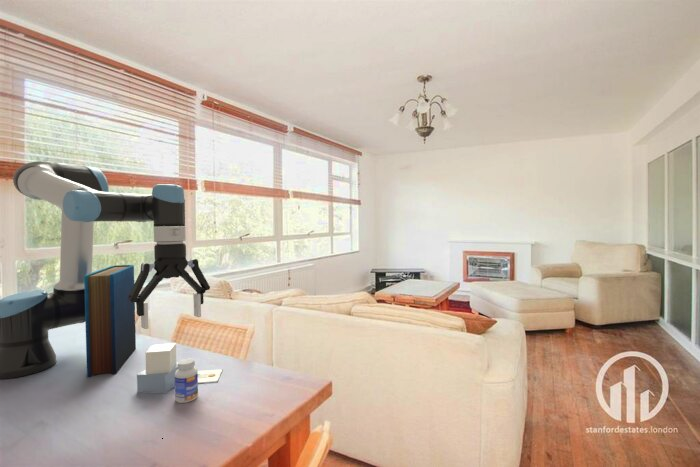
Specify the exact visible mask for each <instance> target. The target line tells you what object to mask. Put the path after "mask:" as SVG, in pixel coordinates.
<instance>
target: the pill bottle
mask: <svg viewBox="0 0 700 467" xmlns="http://www.w3.org/2000/svg"><path fill="white" fill-rule="evenodd" d="M176 363H177V367H178V370H177V371H176V372H175V386H174V401H175V402H177V403H179V404H186V403H190V402H192V401H194V400H196V399H197V398H198V396H199V387H198V386H199V383H198V371H199V369H198V368H197V367H196V366H195V365H196V363H195V359H194V358H190V357H188V358H183V359H180V360H179V361H178V362H176Z"/></svg>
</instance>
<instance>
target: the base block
mask: <svg viewBox="0 0 700 467" xmlns="http://www.w3.org/2000/svg"><path fill="white" fill-rule="evenodd" d="M177 363H178V362H176V365H175V366H174V368H173V369H172V371H171V372H169V373H157V374H146V368H145V369H143V370H142V371H140V372H138V373H137V374H136V387H137V388H136V389H137V391H136V392H137V393H139V392H140V393H152V394H166V393H168V392H169V391H170V390H172V389H173V388H175V372H176V371H177V370H178V367H177Z"/></svg>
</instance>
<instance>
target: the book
mask: <svg viewBox="0 0 700 467" xmlns="http://www.w3.org/2000/svg"><path fill="white" fill-rule="evenodd" d="M134 284H135V265H133V264H123V265H122V264H121V265H120V264H119V265H110V266H107V267H104V268H101V269H99V270H96V271H92V273H90V274H87V275H84V289H85V322H84V323H85V351H86V353H85V354H86V377H87V378H91V377H92V376H94V375H100V374H107V373H111V374H112V375H117V373H118V372H119V371H120V370H121V368H122V367H123V366H124V365H125V364H126V362H127V361H128V360H129V358H130V357H131V356H132V354H134V352H135V351H136V349H137V346H136V345H137V344H136V343H137V342H136V339H137V338H136V334H137V333H136V303H135V302H131V301H128V300H127V298H128V296H129V294H130V292H131V290H132V288H133V286H134Z"/></svg>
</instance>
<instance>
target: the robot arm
mask: <svg viewBox="0 0 700 467" xmlns="http://www.w3.org/2000/svg"><path fill="white" fill-rule="evenodd" d="M12 183H13V186H14V188H16V190H17V191H18V192H19V193H20V194H22V195H24V196H25V197H28V198H30V199H33V200H38V201H39V200H44V201H46V202H48V203H50V204H51V205H54V206H57V207H58V208H59V209H60V210H61V221H60V222H61V224H60V227H61V228H60V254H59V255H60V258H59V281H57V282H56V283H55V284H53V292H50V293H48V292H47V290H45V289H35V290H31V291H30V290H28V291H22V292H17V293H14V294H11V295H8V296H5V297H3V298H1V299H0V380H1V379H4V380H5V379H15V378H19V377H25V376H29V375H32V374H36V373H38V372H42V371H44V370H47V369H49V368H50V367H53V366H55V364H56V363H57V353H55V350H54V347H53V346H52V344H51V342H50V340H49V331H50V330H53V329H58V328H63V327H66V326H67V327H68V326H73V325H77V324H83V323H85V289H84V275H87V274H90V273H92V272H93V254H94V253H93V252H94V251H93V250H94V249H93V248H94V247H93V246H94V229H95V228H94V224H95V223H96V222H137V223H147V222H153V242H154V243H156V244H155V245H153V248H154V249H153V252H154V254H153V255H154V263H148V262H142V263H141V265H140V272H139V274H138V276H137V277H136V280H135V281H134V286H133V288H132V290H131V292H130V294H129V296H128V298H127V300H128V301H131V302H135V309H136V315H137V316H138V317H140V327H141V328H142V329H144V330H148V329H149V303H148V302H147V301H146V300H147V299H148V297H149V296H150V295H151V294H152V292H153V291H154V290H155V289H156V287H157V286H158V285H159V283H160V282H162V281H163V280H164V279H171V278H181V279H183V280H184V281H185V282H186V284H188V285H189V286H190V287H191V289H193V290H194V291H195V292H194V293H192V294H193V316H194V317H197V318H201V317H202V305H204V302H205V300H204V295H205V293H206V291H209V290H210V289H211V286H210V284H209V283H208V281H207V279H206V277H205V275H204V273H203V272H202V270H201V268H200V266H199V260H198V259H197V258H190V259H188V260H187V245H186V243H185V241H186V240H187V239H186V238H187V237H186V199H185V192H184V191H185V190H184V188H183V186H181V185H178V184H170V183H169V184H164V183H163V184H162V183H158V184H155V185H153V187H152V191H151V193H149V194H147V193H146V194H144V193H143V194H142V193H129V192H128V193H127V192H109V191H110V189H109V183H108V179H107V177H106V175H105V174H104V172H103V171H101V170H100V169H99V168H97V167H93V166H87V165H85V164H84V165H83V164H82V165H80V164H72V163H63V162H56V161H48V160H47V161H45V160H42V161H41V160H38V161H32V162H27V163H25V164H23V165H21V166H19V167H18V168H17V169H16V170H15V171H14V173H13V176H12ZM187 267H189V268H190V269H191V271H192V273H193V274H194V277H195V278H196V280H197V281H198V282H197V281H196V280H195V279H194V277H192V276H191V275H190V273H189V272H188V271H187V270H186V268H187ZM153 269H154V270H155V273H154V275H153V276H152V278H151V279H150V281H148V283H147V284H146V285H145V283H146V280H147V278H148V277H149V273H150V272H151V271H152V270H153ZM144 285H145V287H144V288H143V286H144Z"/></svg>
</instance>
